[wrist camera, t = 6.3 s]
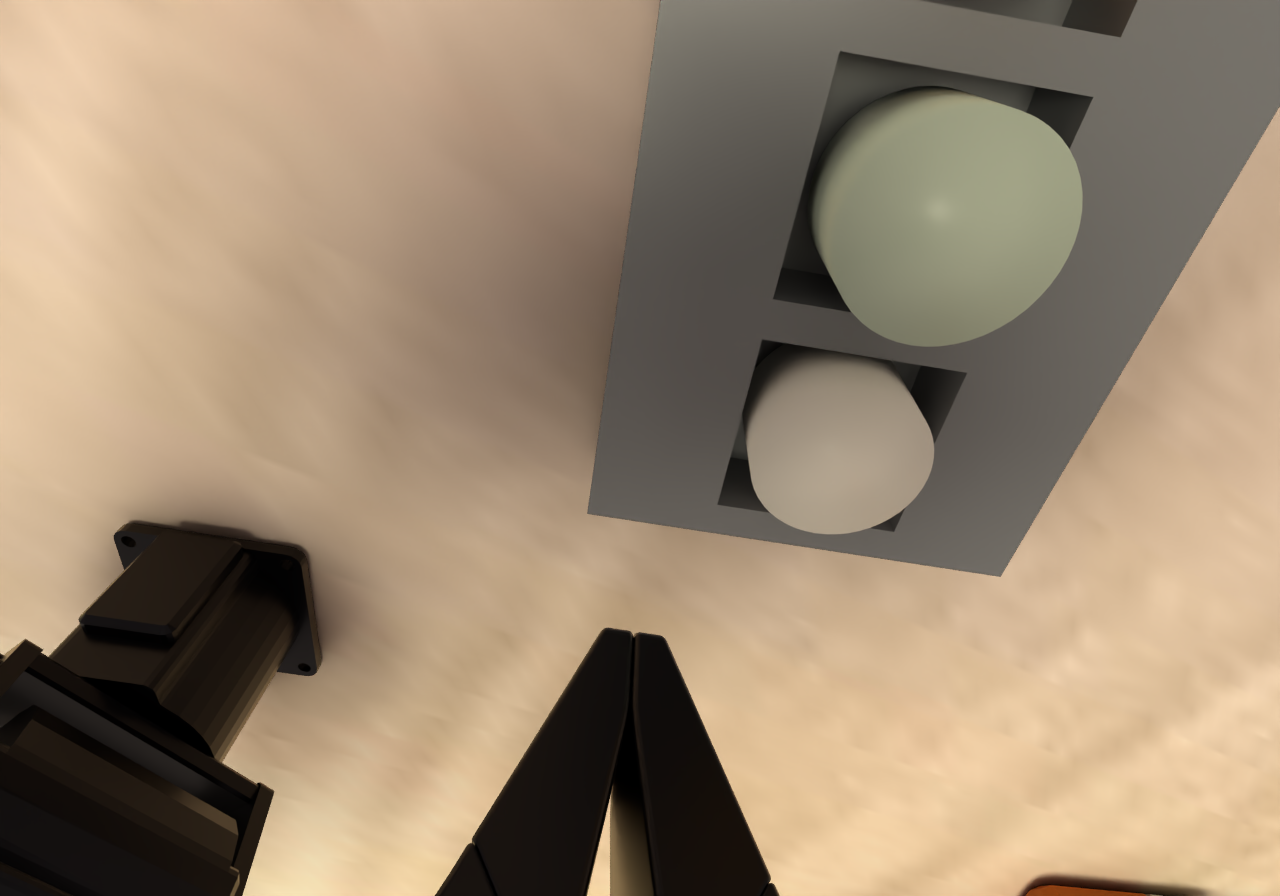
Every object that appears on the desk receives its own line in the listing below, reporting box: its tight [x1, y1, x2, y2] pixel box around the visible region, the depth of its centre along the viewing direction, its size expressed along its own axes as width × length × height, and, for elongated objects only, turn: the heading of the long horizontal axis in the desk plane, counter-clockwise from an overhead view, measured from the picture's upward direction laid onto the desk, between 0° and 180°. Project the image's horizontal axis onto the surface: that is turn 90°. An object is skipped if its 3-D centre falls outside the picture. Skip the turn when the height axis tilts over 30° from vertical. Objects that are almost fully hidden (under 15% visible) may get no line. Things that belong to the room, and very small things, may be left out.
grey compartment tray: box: [587, 0, 1280, 577], centre depth 16 cm, size 19×12×3 cm, turn 171°
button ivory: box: [742, 343, 934, 534], centre depth 18 cm, size 4×4×3 cm
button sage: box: [807, 86, 1083, 347], centre depth 14 cm, size 4×4×3 cm
